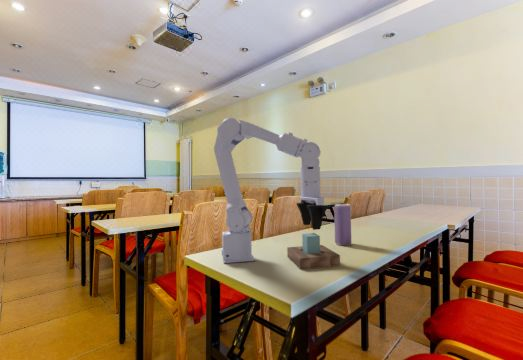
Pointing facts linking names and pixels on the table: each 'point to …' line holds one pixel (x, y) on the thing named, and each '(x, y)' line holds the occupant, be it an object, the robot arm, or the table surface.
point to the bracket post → (311, 243)
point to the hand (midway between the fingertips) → (311, 226)
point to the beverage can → (342, 224)
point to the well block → (313, 258)
